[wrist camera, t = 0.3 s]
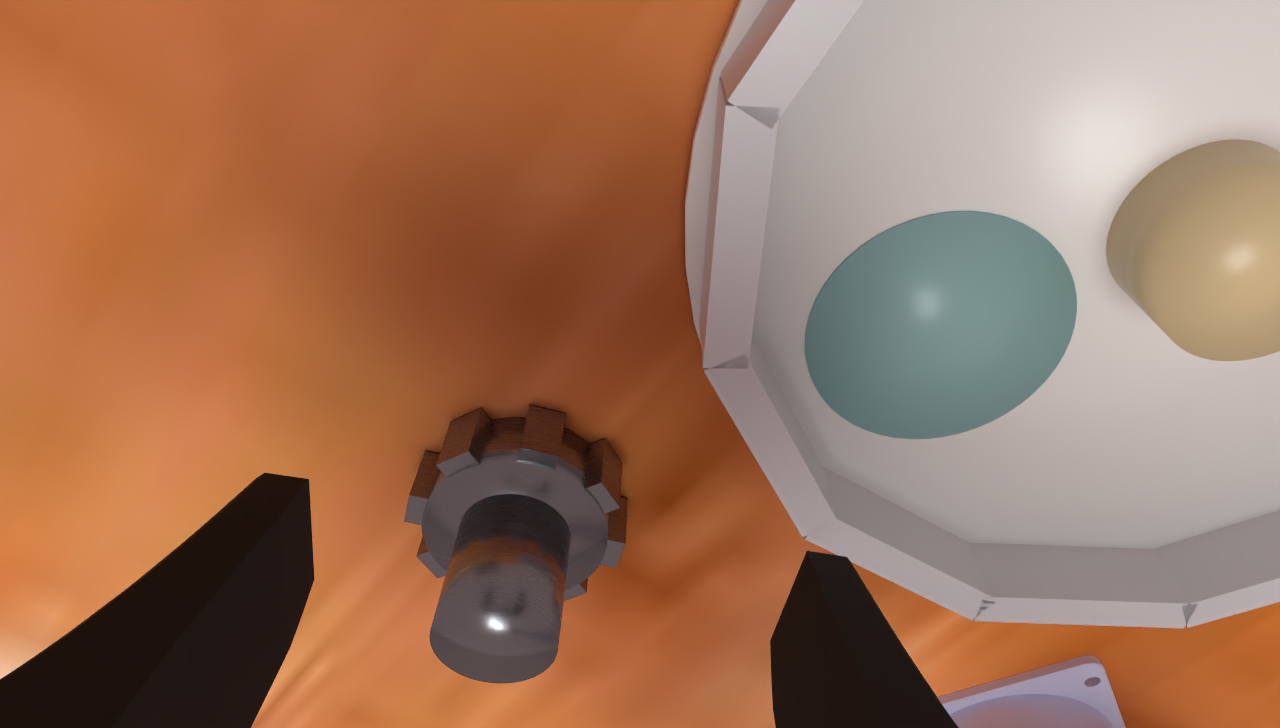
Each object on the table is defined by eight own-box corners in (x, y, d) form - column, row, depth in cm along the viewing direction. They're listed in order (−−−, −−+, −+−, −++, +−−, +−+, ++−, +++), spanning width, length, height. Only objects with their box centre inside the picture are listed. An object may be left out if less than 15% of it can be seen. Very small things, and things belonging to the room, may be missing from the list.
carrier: (1729, 389, 21) (1870, 466, 19) (874, 650, 28) (896, 732, 25) (2018, -942, 10) (2449, -1180, 8) (487, -7, 17) (458, 25, 14)
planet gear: (662, 517, 25) (663, 678, 20) (496, 579, 26) (463, 741, 22) (558, 371, 22) (533, 520, 17) (380, 451, 24) (313, 607, 19)
